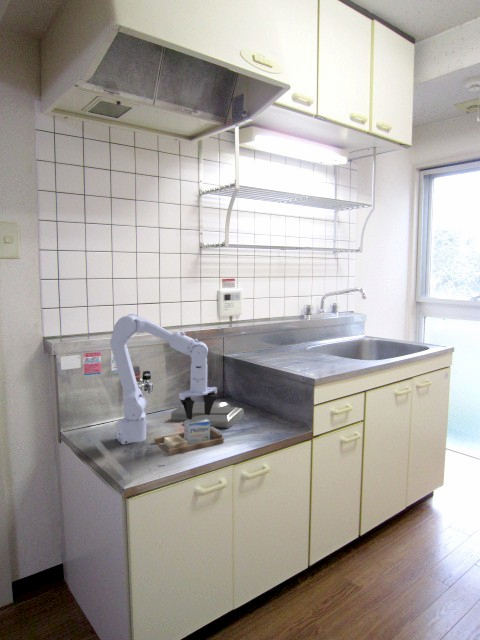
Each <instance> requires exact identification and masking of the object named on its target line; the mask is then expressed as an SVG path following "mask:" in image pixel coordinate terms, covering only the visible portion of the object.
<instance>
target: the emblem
mask: <svg viewBox="0 0 480 640" xmlns="http://www.w3.org/2000/svg"><path fill="white" fill-rule="evenodd" d="M244 411H245V409H244V408H243V407H242V408H241V407H234V406H233V407H231V404H230V403H228V402H222V401H220V402H219V401H218V402H216V401H214V403H213V405H212V408H211V412H210V415H207V414H205V411H204V401H202V402H197V401H196V402H195V401H194V404H193V409H192V419H187V417H186V412H185V409H184V406H183V405H181V406H178V407H177V408H176V409H174V410H172V411H171V413H170V415H171V416H170V421H171V422H182V426H184V421H188V420H195V419H203V418H206V419H207V420H209V421H210V427H211V426H212V427H213V428H215V429H229V428H231V427H232V426H233V425H235V424H237V423H238V422H239V421H240V420H241V419H242V418H244V416H245V415H244V414H245V413H244Z"/></svg>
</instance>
